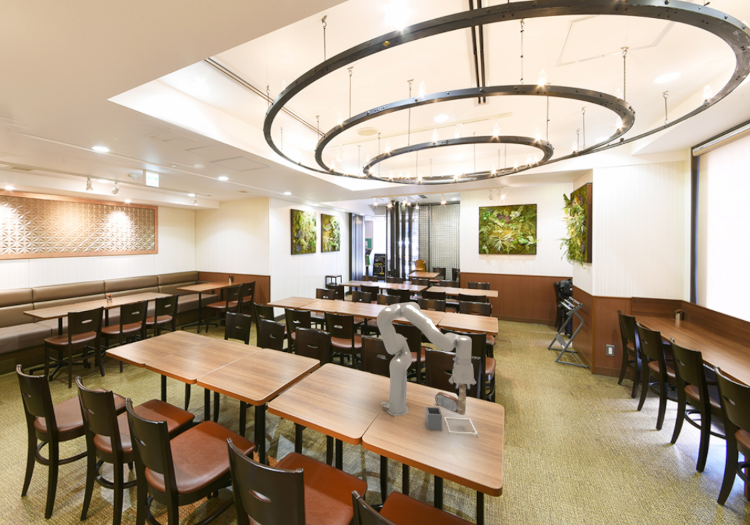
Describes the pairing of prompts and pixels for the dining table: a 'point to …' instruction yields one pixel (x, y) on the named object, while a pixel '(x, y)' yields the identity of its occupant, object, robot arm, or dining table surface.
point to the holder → (433, 418)
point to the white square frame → (461, 432)
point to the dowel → (461, 399)
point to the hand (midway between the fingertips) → (461, 394)
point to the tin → (446, 401)
